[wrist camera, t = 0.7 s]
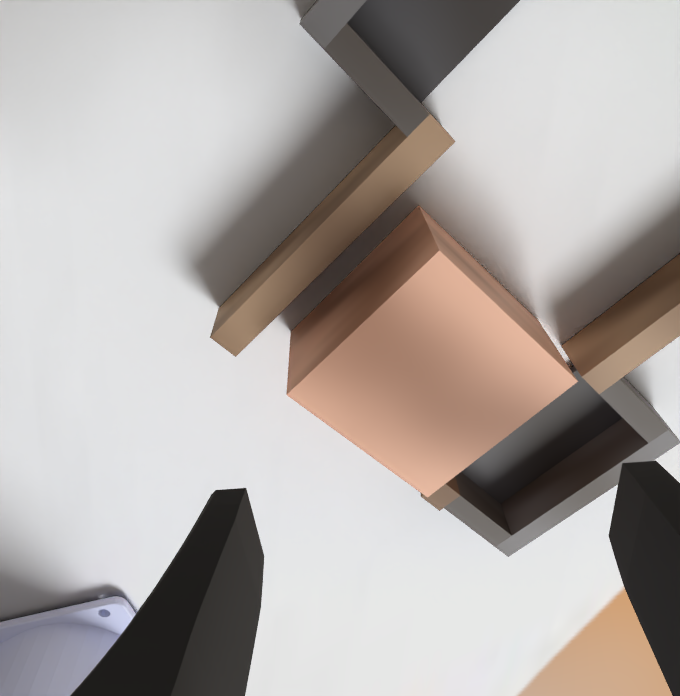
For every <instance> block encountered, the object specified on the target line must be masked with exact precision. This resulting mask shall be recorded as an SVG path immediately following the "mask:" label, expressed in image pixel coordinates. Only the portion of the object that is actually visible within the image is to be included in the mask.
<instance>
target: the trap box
mask: <svg viewBox="0 0 680 696" xmlns="http://www.w3.org/2000/svg"><path fill="white" fill-rule="evenodd" d="M519 1H520V0H317V1H316V2H315V3H314V5H313V6H312V7H311V8H310V9H309V11H308V12H307V13H306V14H305V15H304V17H303V18H302V19H301V21H300V25H301V26H302V27H303V28H304V29H305V30H306V31H307V32H308V33H309V34H310V35H311V36H312V38H313V39H314V40H315V41H316V42H317V43H318V44H319V45H320V46H321V47H322V48H323V49H324V50H325V51H326V52H327V53H328V54H329V55H330V56H331V57H332V59H333V60H334V61H335V62H336V63H337V64H338V65H339V66H340V67H341V68H342V69H343V70H344V71H345V72H346V73H347V74H348V75H349V76H350V77H351V79H352V80H353V81H354V82H355V83H356V84H357V85H358V86H359V87H360V88H361V89H362V90H363V91H364V92H365V93H366V94H367V95H368V96H369V97H370V99H371V100H372V101H373V102H374V103H375V104H376V105H377V106H378V107H379V108H380V109H381V110H382V111H383V112H384V113H385V114H386V115H387V116H388V117H389V118H390V120H391V121H392V122H393V123H394V124H395V125H396V126H395V127H394V128H393V129H392V130H391V131H390V132H389V133H388V134H387V135H386V136H385V137H384V138H383V139H382V140H381V141H380V142H379V143H378V144H377V145H376V146H375V147H374V148H373V149H372V150H371V151H370V152H369V153H368V154H367V156H366V157H365V158H364V159H363V160H362V161H361V162H360V163H359V164H358V165H357V166H356V167H355V168H354V169H353V170H352V171H351V172H350V173H349V174H348V175H347V176H346V177H345V178H344V179H343V180H342V181H341V182H340V183H339V184H338V186H337V187H336V188H335V189H334V190H333V191H332V192H331V193H330V194H329V195H328V196H327V197H326V198H325V199H324V200H323V201H322V202H321V203H320V204H319V205H318V206H317V207H316V208H315V209H314V210H313V211H312V212H311V213H310V214H309V215H308V217H307V218H306V219H305V220H304V221H303V222H302V223H301V224H300V225H299V226H298V227H297V228H296V229H295V230H294V231H293V232H292V233H291V234H290V235H289V236H288V237H287V238H286V239H285V240H284V241H283V242H282V243H281V244H280V245H279V246H278V248H277V249H276V250H275V251H274V252H273V253H272V254H271V255H270V256H269V257H268V258H267V259H266V260H265V261H264V262H263V263H262V264H261V265H260V266H259V267H258V268H257V269H256V270H255V271H254V272H253V273H252V274H251V275H250V276H249V278H248V279H247V280H246V281H245V282H244V283H243V284H242V285H241V286H240V287H239V288H238V289H237V290H236V291H235V292H234V293H233V294H232V295H231V296H230V297H229V298H228V299H227V300H226V301H225V302H224V303H223V304H222V305H221V306H220V307H219V309H218V313H217V316H216V320H215V323H214V326H213V330H212V333H211V336H210V338H212V339H213V340H214V341H216V342H217V343H218V344H220V345H221V346H222V347H224V348H225V349H226V350H228V351H229V352H230V353H231V354H233V355H234V356H235V357H236V356H237V355H238V354H239V353H240V352H241V351H242V350H243V349H244V348H245V347H246V346H247V345H248V344H249V343H250V342H251V341H252V340H253V339H254V338H255V337H256V336H257V335H258V334H259V333H260V332H261V331H262V330H263V329H265V328H266V327H267V326H268V325H269V324H270V323H271V322H272V321H273V320H274V319H275V318H276V317H277V316H278V315H279V314H280V313H281V312H282V311H283V310H284V309H285V308H286V307H287V306H288V305H289V304H290V303H291V302H292V301H293V300H294V299H295V298H296V297H297V296H298V295H299V294H300V293H301V292H302V291H303V290H304V289H305V288H306V287H307V286H308V285H309V284H310V283H311V282H313V281H314V280H315V279H316V278H317V277H318V276H319V275H320V274H321V273H322V272H323V271H324V270H325V269H326V268H327V267H328V266H329V265H330V264H331V263H332V262H333V261H334V260H335V259H336V258H337V257H338V256H339V255H340V254H341V253H342V252H343V251H344V250H345V249H346V248H347V247H348V246H349V245H350V244H351V243H352V242H353V241H354V240H355V239H356V238H357V237H358V236H359V235H361V234H362V233H363V232H364V231H365V230H366V229H367V228H368V227H369V226H370V225H371V224H372V223H373V222H374V221H375V220H376V219H377V218H378V217H379V216H380V215H381V214H382V213H383V212H384V211H385V210H386V209H387V208H388V207H389V206H390V205H391V204H392V203H393V202H394V201H395V200H396V199H397V198H398V197H399V196H400V195H401V194H402V193H403V192H404V191H405V190H406V189H407V188H409V187H410V186H411V185H412V184H413V183H414V182H415V181H416V180H417V179H418V178H419V177H420V176H421V175H422V174H423V173H424V172H425V171H426V170H427V169H428V168H429V167H430V166H431V165H432V164H433V163H434V162H435V161H436V160H437V159H438V158H439V157H440V156H441V155H442V154H443V153H444V152H445V151H446V150H447V149H448V148H449V147H450V146H451V145H452V144H453V143H454V142H455V141H454V139H453V138H452V137H451V136H450V135H449V134H448V132H447V131H446V130H445V129H444V128H443V127H442V125H441V124H440V123H439V122H438V121H437V120H436V119H435V118H434V117H433V116H432V115H431V113H430V112H429V111H428V110H427V109H426V108H425V107H424V106H423V105H422V104H421V102H422V101H423V100H424V99H425V98H426V97H427V96H428V95H429V94H430V93H431V92H432V91H433V90H434V89H435V88H436V87H437V86H438V84H439V83H440V82H441V81H442V80H443V79H444V78H445V77H446V76H447V75H448V74H449V73H450V72H451V71H452V70H453V69H454V68H455V67H456V66H457V65H458V64H459V63H460V62H461V61H462V60H463V59H464V58H465V57H466V56H467V55H468V54H469V53H470V51H471V50H472V49H473V48H474V47H475V46H476V45H477V44H478V43H479V42H480V41H481V40H482V39H483V38H484V37H485V36H486V35H487V34H488V33H489V32H490V31H491V30H492V29H493V28H494V27H495V26H496V25H497V24H498V23H499V22H500V21H501V20H502V18H503V17H504V16H505V15H506V14H507V13H508V12H509V11H510V10H511V9H512V8H513V7H514V6H515V5H516V4H517V3H518V2H519ZM679 336H680V254H679V255H677V256H676V257H675V258H674V259H672V260H671V261H670V262H668V263H667V264H666V265H665V266H663V267H662V268H661V269H660V270H658V271H657V272H656V273H654V274H653V275H652V276H651V277H649V278H648V279H647V280H645V281H644V282H643V283H642V284H640V285H639V286H638V287H636V288H635V289H634V290H633V291H631V292H630V293H629V294H627V295H626V296H625V297H624V298H622V299H621V300H620V301H618V302H617V303H616V304H615V305H613V306H612V307H611V308H609V309H608V310H607V311H606V312H604V313H603V314H602V315H600V316H599V317H598V318H597V319H595V320H594V321H593V322H591V323H590V324H589V325H588V326H586V327H585V328H584V329H582V330H581V331H580V332H579V333H577V334H576V335H575V336H573V337H572V338H571V339H570V340H568V341H567V342H566V343H564V344H563V345H562V346H561V347H562V348H563V350H564V351H565V353H566V354H567V356H568V357H569V359H570V360H571V362H572V363H573V365H574V366H573V367H571V368H570V370H571V371H572V373H573V374H574V376H575V377H576V379H577V381H578V382H577V383H576V384H574V385H573V386H572V387H570V388H569V389H568V390H566V391H565V392H564V393H563V394H561V395H560V396H559V397H557V398H556V399H555V400H553V401H552V402H551V403H550V404H548V405H547V406H546V407H544V408H543V409H542V410H540V411H539V412H538V413H537V414H535V415H534V416H533V417H531V418H530V419H529V420H528V421H526V422H525V423H524V424H522V425H521V426H520V427H518V428H517V429H516V430H515V431H513V432H512V433H511V434H509V435H508V436H507V437H505V438H504V439H503V440H502V441H500V442H499V443H498V444H496V445H495V446H494V447H492V448H491V449H490V450H489V451H487V452H486V453H485V454H483V455H482V456H481V457H479V458H478V459H477V460H476V461H474V462H473V463H472V464H470V465H469V466H468V467H467V468H465V469H464V470H463V471H461V472H460V473H459V474H457V475H456V476H455V477H454V478H452V479H451V480H450V481H448V482H447V483H446V484H444V485H443V486H442V487H441V488H439V489H438V490H437V491H435V492H434V493H433V494H431V495H430V496H429V497H428V498H427V497H426V496H425V495H423V494H422V493H421V492H420V493H421V497H422V498H423V499H425V500H426V501H427V502H429V503H430V504H431V505H433V506H434V507H435V508H437V509H438V510H439V511H440V510H441V509H443V508H445V509H446V510H447V511H449V512H450V513H451V514H453V515H454V516H455V517H457V518H458V519H459V520H461V521H462V522H463V523H465V524H466V525H467V526H468V527H470V528H471V529H472V530H474V531H475V532H476V533H478V534H479V535H480V536H482V537H483V538H484V539H486V540H487V541H488V542H490V543H491V544H492V545H493V546H495V547H496V548H497V549H499V550H500V551H501V552H503V553H504V554H505V555H507V556H508V557H509V556H510V555H512V554H513V553H515V552H516V551H518V550H519V549H521V548H522V547H524V546H525V545H527V544H528V543H530V542H531V541H533V540H534V539H536V538H537V537H539V536H540V535H542V534H543V533H545V532H546V531H548V530H550V529H551V528H553V527H554V526H556V525H557V524H559V523H560V522H562V521H563V520H565V519H566V518H568V517H569V516H571V515H572V514H574V513H575V512H577V511H578V510H580V509H581V508H583V507H584V506H586V505H587V504H589V503H590V502H592V501H593V500H595V499H596V498H598V497H599V496H601V495H602V494H604V493H605V492H607V491H608V490H610V489H611V488H613V487H614V486H616V485H617V484H618V483H619V478H620V473H621V467H622V463H630V462H645V461H653V460H655V459H656V458H658V457H659V456H661V455H662V454H664V453H665V452H667V451H668V450H670V449H672V448H673V447H675V446H676V445H678V444H679V443H680V441H679V439H678V438H677V437H676V436H675V434H674V433H673V432H672V431H671V429H670V428H669V427H668V425H667V424H666V423H665V422H664V420H663V419H662V418H661V417H660V415H659V414H658V413H657V411H656V410H655V409H654V408H653V407H652V406H651V405H650V404H649V403H648V402H647V401H646V400H645V398H644V397H643V396H642V395H641V394H640V393H639V392H638V391H637V390H636V389H635V388H634V387H633V386H632V385H631V384H630V383H629V382H628V381H627V380H626V379H625V378H624V376H625V375H627V374H628V373H629V372H631V371H632V370H633V369H635V368H636V367H637V366H639V365H640V364H642V363H643V362H644V361H646V360H647V359H648V358H650V357H651V356H653V355H654V354H655V353H657V352H658V351H659V350H661V349H662V348H664V347H665V346H666V345H668V344H669V343H670V342H672V341H673V340H675V339H676V338H677V337H679Z"/></svg>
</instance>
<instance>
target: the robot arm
mask: <svg viewBox="0 0 680 696" xmlns="http://www.w3.org/2000/svg"><path fill="white" fill-rule="evenodd" d="M609 539H610V542H611V545H612V549H613V552H614V555H615V559H616V562H617V565H618V568H619V572H620V575H621V578H622V581H623V584H624V587H625V590H626V592H627V594H628V597H629V599H630V601H631V603H632V606H633V608H634V610H635V612H636V615H637V617H638V619H639V622H640V624H641V626H642V628H643V631H644V633H645V635H646V637H647V639H648V641H649V644H650V646H651V648H652V651H653V653H654V655H655V657H656V659H657V662H658V664H659V666H660V668H661V671H662V673H663V675H664V677H665V679H666V682H667V684H668V686H669V688H670V691H671V693H672V695H673V696H680V483H679V482H678V481H677V480H676V479H675V478H674V477H673V476H672V475H671V474H669V473H668V472H667V471H666V470H665V469H664V468H663V467H662V466H661V465H660V464H659V463H658V462H656V461H645V462H630V463H622V467H621V473H620V478H619V483H618V489H617V494H616V499H615V505H614V510H613V516H612V521H611V526H610V532H609ZM263 566H264V554H263V550H262V546H261V543H260V539H259V535H258V531H257V528H256V524H255V520H254V516H253V512H252V509H251V505H250V501H249V497H248V494H247V490H246V488H241V489H226V490H215V492H214V493H213V494H212V495H211V496H210V498H209V500H208V502H207V504H206V505H205V507H204V509H203V511H202V512H201V514H200V516H199V518H198V519H197V521H196V523H195V525H194V526H193V528H192V530H191V531H190V533H189V535H188V536H187V538H186V540H185V541H184V543H183V545H182V546H181V548H180V550H179V551H178V553H177V554H176V556H175V557H174V559H173V560H172V562H171V564H170V565H169V567H168V568H167V570H166V571H165V573H164V574H163V576H162V577H161V579H160V581H159V582H158V584H157V585H156V587H155V588H154V590H153V591H152V592H151V594H150V595H149V597H148V598H147V599H146V601H145V602H144V604H143V605H142V606H141V608H140V609H139V611H138V612H137V613H135V612H134V610H133V609H132V607H131V606H130V604H129V603H128V602H127V601H126V600H125V599H124V598H122V597H118V596H113V597H108V598H104V599H100V600H95V601H91V602H86V603H82V604H78V605H73V606H69V607H64V608H60V609H55V610H51V611H47V612H42V613H38V614H33V615H29V616H25V617H20V618H16V619H11V620H7V621H3V622H0V696H245V692H246V687H247V681H248V676H249V670H250V665H251V659H252V654H253V648H254V643H255V637H256V632H257V626H258V620H259V614H260V608H261V597H262V583H263Z"/></svg>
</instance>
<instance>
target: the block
mask: <svg viewBox="0 0 680 696" xmlns="http://www.w3.org/2000/svg"><path fill="white" fill-rule="evenodd" d="M577 382H578V381H577V379H576V377H575V376H574V374H573V373H572V371H571V370H570V368H569V367H568V365H567V364H566V362H565V361H564V359H563V358H562V356H561V355H560V353H559V352H558V350H557V348H556V347H555V345H554V344H553V342H552V341H551V339H550V338H549V336H548V335H547V333H546V332H545V330H544V329H543V327H542V326H541V324H540V322H539V321H538V320H537V319H536V318H535V317H534V316H533V315H532V314H531V313H530V312H529V311H528V310H527V309H526V308H525V307H524V306H522V305H521V304H520V303H519V302H518V301H517V300H516V299H515V298H514V297H513V296H512V295H511V294H510V293H509V292H508V291H507V290H506V289H505V288H504V287H503V286H502V285H501V284H500V283H499V282H498V281H497V280H496V279H495V278H494V277H492V276H491V275H490V274H489V273H488V272H487V271H486V270H485V269H484V268H483V267H482V266H481V265H480V264H479V263H478V262H477V261H476V260H475V259H474V258H473V257H472V256H471V255H470V254H469V253H468V252H467V251H466V250H465V249H464V248H462V247H461V246H460V245H459V244H458V243H457V242H456V241H455V240H454V239H453V238H452V237H451V236H450V235H449V234H448V233H447V232H446V231H445V230H444V229H443V228H442V227H441V226H440V225H439V224H438V223H437V222H436V221H435V220H434V219H432V218H431V217H430V216H429V215H428V214H427V213H426V212H425V211H424V210H423V209H422V208H421V207H420V206H419V205H418V206H417V207H416V208H415V209H414V210H413V211H412V212H411V213H410V214H409V215H408V216H407V217H406V218H405V219H404V220H403V221H402V222H401V223H400V224H399V225H398V226H397V227H396V228H395V229H394V230H393V231H392V232H391V233H390V234H389V235H388V236H387V237H386V238H385V239H384V240H383V241H382V242H381V243H380V244H379V245H378V246H377V247H376V248H375V249H374V250H373V251H372V252H371V253H370V254H369V255H368V256H367V257H366V258H365V259H364V260H363V261H362V262H361V263H360V264H359V265H358V266H357V267H356V268H355V269H354V270H353V271H352V272H351V273H350V274H349V275H348V276H347V277H346V278H345V279H344V280H343V281H342V282H341V283H340V284H339V285H338V286H337V287H336V288H335V289H334V290H333V291H332V292H331V293H330V294H329V295H328V296H326V297H325V298H324V299H323V300H322V301H321V302H320V303H319V304H318V305H317V306H316V307H315V308H314V309H313V310H312V311H311V312H310V313H309V314H308V315H307V316H306V317H305V318H304V319H303V320H302V321H301V322H300V323H299V324H298V325H297V326H296V327H295V328H294V329H293V330H292V331H291V337H290V352H289V367H288V382H287V396H289V397H290V398H292V399H293V400H294V401H296V402H297V403H298V404H300V405H301V406H303V407H304V408H305V409H307V410H308V411H309V412H311V413H312V414H314V415H315V416H316V417H318V418H319V419H320V420H322V421H323V422H325V423H326V424H327V425H329V426H330V427H331V428H333V429H334V430H336V431H337V432H338V433H340V434H341V435H342V436H344V437H345V438H346V439H348V440H349V441H351V442H352V443H353V444H355V445H356V446H357V447H359V448H360V449H362V450H363V451H364V452H366V453H367V454H368V455H370V456H371V457H373V458H374V459H375V460H377V461H378V462H379V463H381V464H382V465H384V466H385V467H386V468H388V469H389V470H390V471H392V472H393V473H395V474H396V475H397V476H399V477H400V478H401V479H403V480H404V481H405V482H407V483H408V484H410V485H411V486H412V487H414V488H415V489H416V490H418V491H419V492H421V493H422V494H423V495H425V496H426V497H427V498H428V497H429V496H430V495H431V494H433V493H434V492H435V491H437V490H438V489H439V488H441V487H442V486H443V485H444V484H446V483H447V482H448V481H450V480H451V479H452V478H454V477H455V476H456V475H457V474H459V473H460V472H461V471H463V470H464V469H465V468H467V467H468V466H469V465H470V464H472V463H473V462H474V461H476V460H477V459H478V458H479V457H481V456H482V455H483V454H485V453H486V452H487V451H489V450H490V449H491V448H492V447H494V446H495V445H496V444H498V443H499V442H500V441H502V440H503V439H504V438H505V437H507V436H508V435H509V434H511V433H512V432H513V431H515V430H516V429H517V428H518V427H520V426H521V425H522V424H524V423H525V422H526V421H528V420H529V419H530V418H531V417H533V416H534V415H535V414H537V413H538V412H539V411H540V410H542V409H543V408H544V407H546V406H547V405H548V404H550V403H551V402H552V401H553V400H555V399H556V398H557V397H559V396H560V395H561V394H563V393H564V392H565V391H566V390H568V389H569V388H570V387H572V386H573V385H574V384H576V383H577Z"/></svg>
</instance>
